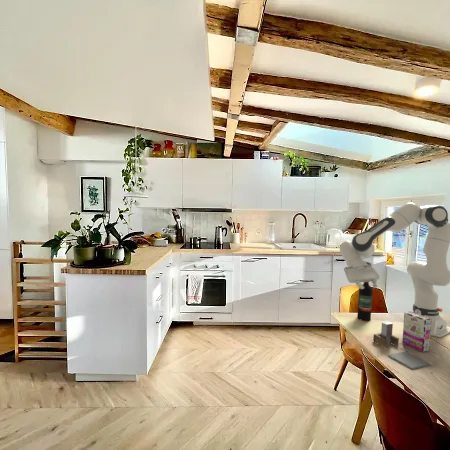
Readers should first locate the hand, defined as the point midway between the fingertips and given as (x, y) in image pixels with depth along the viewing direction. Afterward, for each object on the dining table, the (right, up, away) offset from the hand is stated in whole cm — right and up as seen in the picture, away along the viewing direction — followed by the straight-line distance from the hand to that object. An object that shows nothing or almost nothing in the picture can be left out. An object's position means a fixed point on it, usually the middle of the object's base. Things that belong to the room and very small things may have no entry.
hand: (369, 288), depth 164 cm
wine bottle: (+8, -25, +24) cm, 35 cm away
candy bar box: (+17, -27, -12) cm, 35 cm away
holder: (+4, -27, -10) cm, 29 cm away
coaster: (+6, -28, -26) cm, 39 cm away
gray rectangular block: (+4, -27, -10) cm, 29 cm away
